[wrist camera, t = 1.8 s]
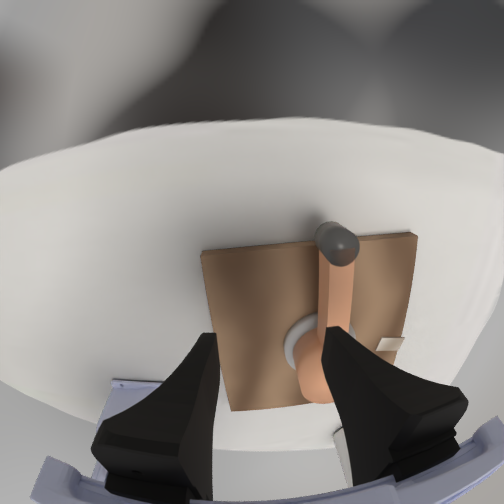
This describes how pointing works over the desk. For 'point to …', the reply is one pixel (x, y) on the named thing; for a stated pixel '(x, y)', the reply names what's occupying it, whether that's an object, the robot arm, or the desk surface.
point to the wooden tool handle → (327, 306)
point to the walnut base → (298, 310)
